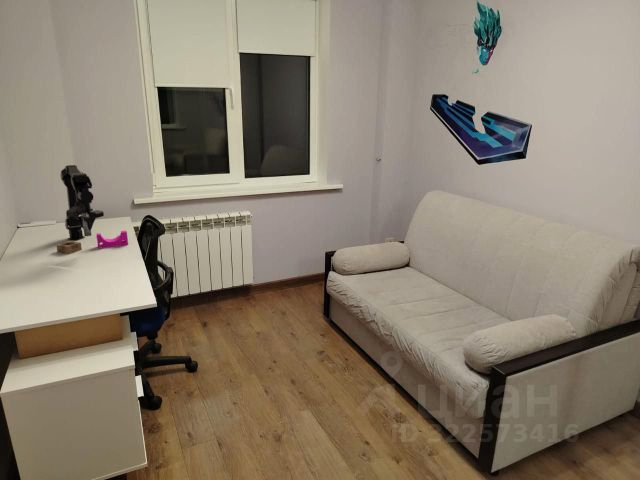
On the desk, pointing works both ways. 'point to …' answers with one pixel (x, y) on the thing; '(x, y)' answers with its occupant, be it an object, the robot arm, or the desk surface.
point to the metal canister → (86, 227)
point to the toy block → (112, 240)
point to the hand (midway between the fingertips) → (87, 229)
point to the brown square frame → (69, 247)
